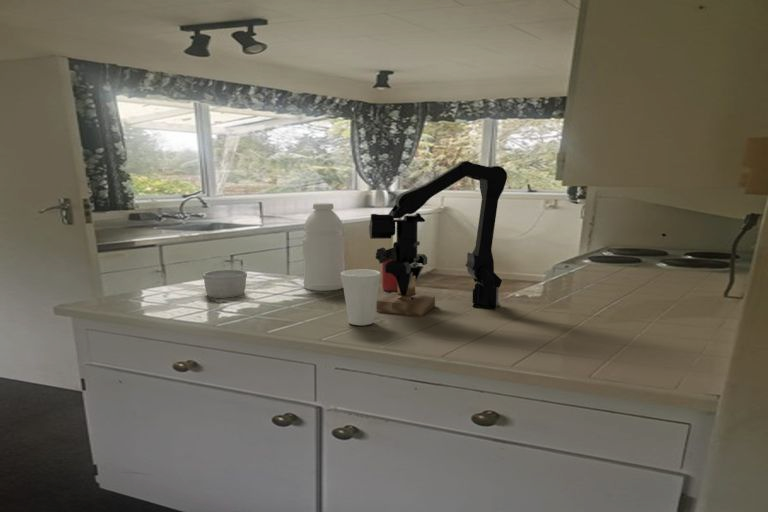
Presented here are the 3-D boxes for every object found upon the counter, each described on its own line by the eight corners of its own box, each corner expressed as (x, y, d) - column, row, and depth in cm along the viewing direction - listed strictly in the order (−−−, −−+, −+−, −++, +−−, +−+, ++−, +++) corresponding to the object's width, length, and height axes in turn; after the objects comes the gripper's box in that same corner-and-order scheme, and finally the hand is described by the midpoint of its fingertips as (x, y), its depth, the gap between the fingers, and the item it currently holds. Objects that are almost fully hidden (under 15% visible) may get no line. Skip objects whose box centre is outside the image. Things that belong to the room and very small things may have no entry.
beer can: (402, 292, 170) (402, 255, 168) (382, 291, 170) (382, 255, 169) (402, 287, 177) (402, 252, 175) (382, 287, 177) (382, 252, 175)
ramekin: (256, 293, 169) (255, 271, 167) (223, 301, 158) (222, 278, 156) (228, 288, 176) (227, 268, 175) (194, 296, 165) (193, 274, 164)
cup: (343, 318, 139) (342, 269, 137) (381, 318, 138) (381, 269, 137) (339, 328, 129) (338, 276, 127) (380, 329, 129) (380, 276, 127)
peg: (417, 302, 150) (418, 275, 149) (411, 307, 145) (412, 278, 144) (401, 301, 152) (401, 273, 151) (394, 305, 147) (394, 277, 146)
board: (434, 306, 152) (435, 295, 151) (421, 316, 141) (421, 305, 140) (392, 302, 156) (392, 292, 156) (376, 311, 146) (376, 300, 145)
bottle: (304, 283, 184) (302, 202, 180) (344, 282, 185) (343, 202, 181) (302, 292, 170) (300, 204, 166) (345, 291, 172) (345, 204, 168)
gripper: (392, 233, 157) (392, 285, 160) (366, 240, 140) (366, 298, 142) (428, 235, 153) (427, 288, 155) (405, 242, 136) (405, 301, 138)
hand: (406, 293), depth 148 cm, fingers closed on peg, 5 cm apart
